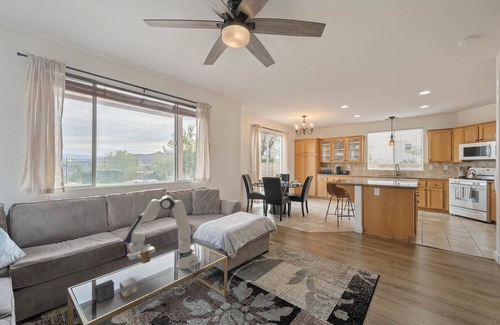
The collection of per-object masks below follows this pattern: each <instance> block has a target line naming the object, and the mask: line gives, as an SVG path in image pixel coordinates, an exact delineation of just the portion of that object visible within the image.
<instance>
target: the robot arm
mask: <svg viewBox="0 0 500 325" xmlns="http://www.w3.org/2000/svg"><path fill="white" fill-rule="evenodd" d="M161 209H163V210H172V212H173V218H174V220H175V224H176V227H177V237H178V238H177V239H178V241H177V242H178V251H177V258H178V259H177V263H176V268H177V269H181V270H185V269H187V270H190V269H192V268H193V266H194V267H195V266H197V265H198V264H200V263H201V259H200V258H199V257H198V255H197V254H196V253H194V252H195V250H194V249H192V248H191V236H192V228H191V224H190V221H189V218H188V213H187V210H186V206H185V204H184V202H183V201H182V200H181V199H176V200H175V199H174V196H172V195H170V194H165V195H163V196H162V197H160V198H159V199H157V198H156V199H155V198H154V199H151V201H150V202H149V203H148V204H147V207H146V208H145V209H144V211H143V212H142V213H141V214H138V216H137V217H136V218H135V219H134V221H133V222H132V224H131V225H130V226H129V228H128V230H127V231H126V232H125V233H124V234H123V236H122V242H124V244H128V246H127V247H128V248H127V249H128V251H129V253H127V254H126V257H127V258H128V259H129V260H130V261H133V260H135V259H141V258H143V256H142V255H141V251H142V250H145V249H148V250H150V256H151V255H152V254H154V253H155V252H156V247H155V246H153V245H151V244H149V243H148V244H145V243H146V241H147V234H146V233H145V232H141V231H136V230H137V229H138V227H139V226H140V225H141V224H143V223H146V222H151V221H153V220H155V219H157V218H156V217H157V216H158V214H159V212H160V210H161Z"/></svg>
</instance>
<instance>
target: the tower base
mask: <svg viewBox="0 0 500 325" xmlns="http://www.w3.org/2000/svg"><path fill="white" fill-rule="evenodd" d="M136 291H137V292H138V286H137V287H135V288H133V289H130V290H128V291H126V292H123V291H122V289H121V288H120V287H119V293H120V294H121V295H122V297H123V298H125V297H128V296H130V295H132V294H135V293H136Z"/></svg>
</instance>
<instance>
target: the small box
mask: <svg viewBox="0 0 500 325" xmlns="http://www.w3.org/2000/svg"><path fill="white" fill-rule="evenodd" d="M113 297H115V282H114V281H113V279H109V280H106V281H104V282H101V283H99V284H96V285H95V286H94V300H95V303H96V304H100V303H102V302H104V301H107V300H109V299H111V298H113Z"/></svg>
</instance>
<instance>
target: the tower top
mask: <svg viewBox="0 0 500 325" xmlns="http://www.w3.org/2000/svg"><path fill="white" fill-rule="evenodd" d="M135 287H137V288H138V281H137V279H135V278H134V276H132V277H129V278H126V279H124V280H121V281H119V289H120V288H121V289H122V291H123V292H126V291H128V290H130V289H133V288H135Z"/></svg>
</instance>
